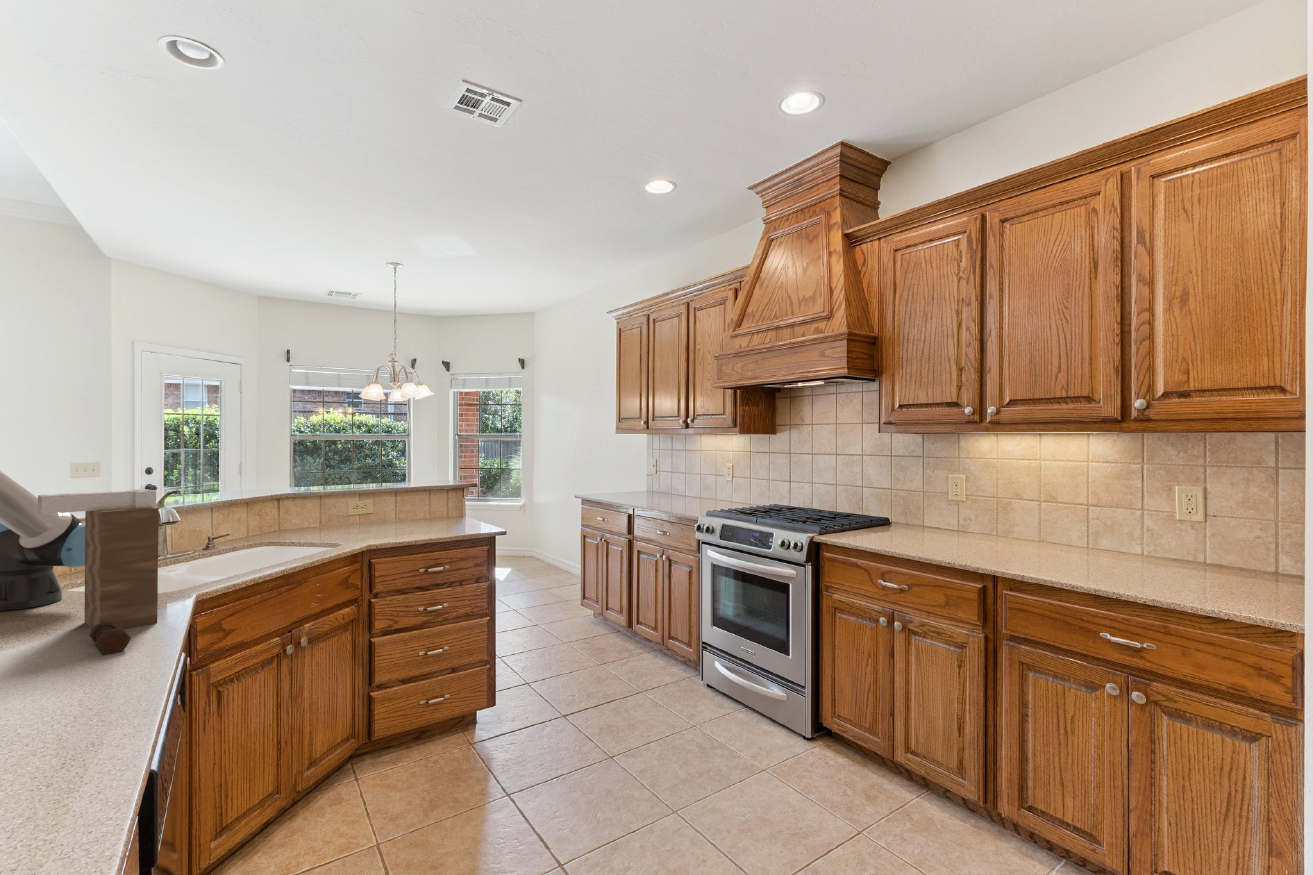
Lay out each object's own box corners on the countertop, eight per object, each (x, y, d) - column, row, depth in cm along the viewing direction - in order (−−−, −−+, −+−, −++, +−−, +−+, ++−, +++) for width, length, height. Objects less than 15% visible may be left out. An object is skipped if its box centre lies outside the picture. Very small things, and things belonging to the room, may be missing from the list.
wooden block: (84, 622, 148) (85, 507, 148) (139, 612, 157) (140, 504, 157) (100, 633, 140) (101, 512, 140) (157, 622, 149) (158, 508, 149)
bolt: (105, 645, 138) (118, 659, 128) (78, 639, 135) (89, 653, 125) (122, 620, 140) (135, 632, 130) (96, 613, 137) (108, 625, 127)
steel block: (36, 512, 139) (36, 494, 139) (147, 504, 155) (147, 489, 155) (43, 514, 135) (43, 496, 135) (156, 506, 151) (156, 490, 151)
